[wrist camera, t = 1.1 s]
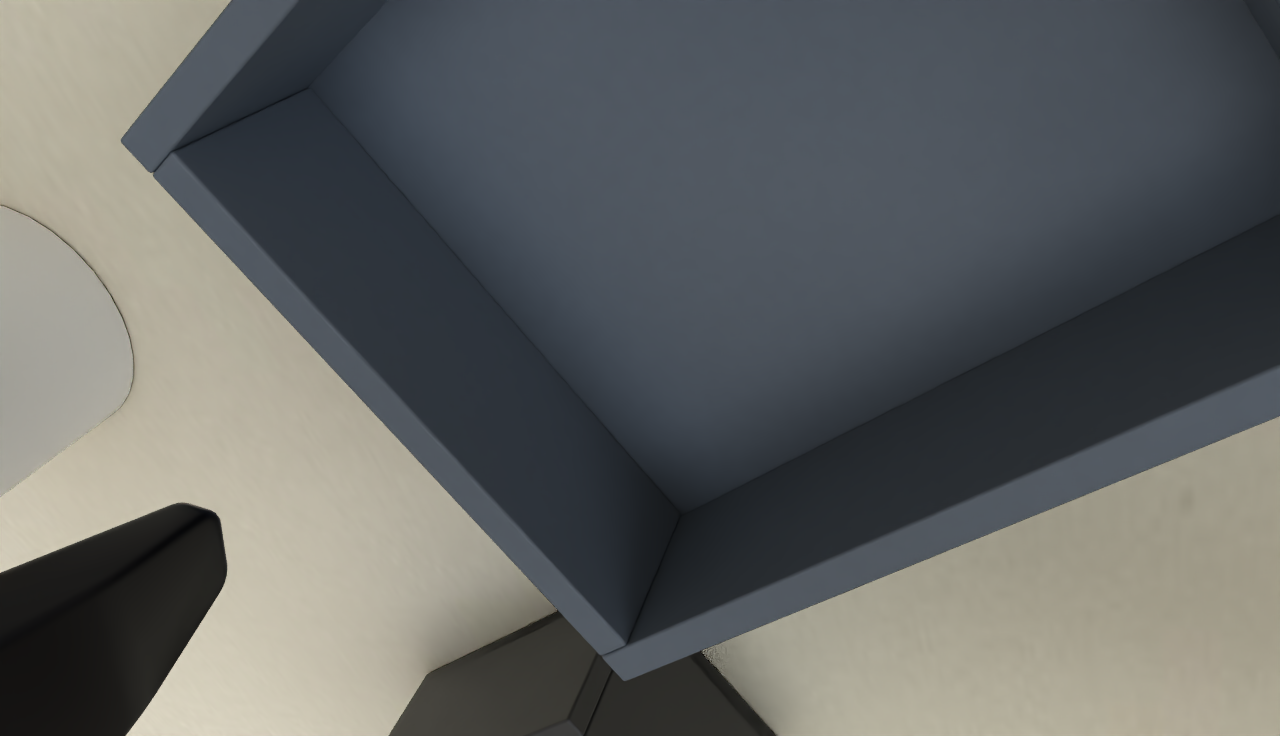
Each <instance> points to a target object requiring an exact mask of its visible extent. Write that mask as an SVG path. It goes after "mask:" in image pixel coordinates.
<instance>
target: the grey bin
mask: <svg viewBox="0 0 1280 736" xmlns="http://www.w3.org/2000/svg"><path fill="white" fill-rule="evenodd" d="M121 142H122V144H123V145H124V146H125V147H126V148H127V149H128V150H129V151H130V152H131V153H132V155H133V156H134V157H135V158H136V159H137V160H138V161H139V162H140V163H141V164H142V165H143V166H144V167H145V168H146V170H147V171H148V172H150V173H153V172H154V174H153V177H154V178H155V179H156V180H157V181H158V182H159V183H160V185H161V186H162V187H163V188H164V189H165V190H166V191H167V192H168V193H169V194H170V195H171V196H172V197H173V198H174V200H175V201H176V202H177V203H178V204H179V205H180V206H181V207H182V208H183V209H184V210H185V211H186V212H187V213H188V215H189V216H190V217H191V218H192V219H193V220H194V221H195V222H196V223H197V224H198V225H199V226H200V227H201V228H202V230H203V231H204V232H205V233H206V234H207V235H208V236H209V237H210V238H211V239H212V240H213V241H214V242H215V243H216V245H217V246H218V247H219V248H220V249H221V250H222V251H223V252H224V253H225V254H226V255H227V256H228V257H229V258H230V260H231V261H232V262H233V263H234V264H235V265H236V266H237V267H238V268H239V269H240V270H241V271H242V272H243V273H244V275H245V276H246V277H247V278H248V279H249V280H250V281H251V282H252V283H253V284H254V285H255V286H256V287H257V288H258V290H259V291H260V292H261V293H262V294H263V295H264V296H265V297H266V298H267V299H268V300H269V301H270V302H271V303H272V305H273V306H274V307H275V308H276V309H277V310H278V311H279V312H280V313H281V314H282V315H283V316H284V317H285V318H286V320H287V321H288V322H289V323H290V324H291V325H292V326H293V327H294V328H295V329H296V330H297V331H298V332H299V333H300V335H301V336H302V337H303V338H304V339H305V340H306V341H307V342H308V343H309V344H310V345H311V346H312V347H313V348H314V349H315V351H316V352H317V353H318V354H319V355H320V356H321V357H322V358H323V359H324V360H325V361H326V362H327V363H328V364H329V366H330V367H331V368H332V369H333V370H334V371H335V372H336V373H337V374H338V375H339V376H340V377H341V378H342V379H343V381H344V382H345V383H346V384H347V385H348V386H349V387H350V388H351V389H352V390H353V391H354V392H355V393H356V394H357V396H358V397H359V398H360V399H361V400H362V401H363V402H364V403H365V404H366V405H367V406H368V407H369V408H370V409H371V411H372V412H373V413H374V414H375V415H376V416H377V417H378V418H379V419H380V420H381V421H382V422H383V423H384V424H385V426H386V427H387V428H388V429H389V430H390V431H391V432H392V433H393V434H394V435H395V436H396V437H397V438H398V439H399V441H400V442H401V443H402V444H403V445H404V446H405V447H406V448H407V449H408V450H409V451H410V452H411V453H412V454H413V456H414V457H415V458H416V459H417V460H418V461H419V462H420V463H421V464H422V465H423V466H424V467H425V468H426V469H427V471H428V472H429V473H430V474H431V475H432V476H433V477H434V478H435V479H436V480H437V481H438V482H439V483H440V484H441V486H442V487H443V488H444V489H445V490H446V491H447V492H448V493H449V494H450V495H451V496H452V497H453V498H454V499H455V501H456V502H457V503H458V504H459V505H460V506H461V507H462V508H463V509H464V510H465V511H466V512H467V513H468V514H469V516H470V517H471V518H472V519H473V520H474V521H475V522H476V523H477V524H478V525H479V526H480V527H481V528H482V529H483V531H484V532H485V533H486V534H487V535H488V536H489V537H490V538H491V539H492V540H493V541H494V542H495V543H496V544H497V546H498V547H499V548H500V549H501V550H502V551H503V552H504V553H505V554H506V555H507V556H508V557H509V558H510V559H511V561H512V562H513V563H514V564H515V565H516V566H517V567H518V568H519V569H520V570H521V571H522V572H523V573H524V574H525V575H526V577H527V578H528V579H529V580H530V581H531V582H532V583H533V584H534V585H535V586H536V587H537V588H538V589H539V590H540V592H541V593H542V594H543V595H544V596H545V597H546V598H547V599H548V600H549V601H550V602H551V603H552V604H553V605H554V607H555V608H556V609H557V610H558V611H559V612H560V613H561V614H562V615H563V616H564V617H565V618H566V619H567V620H568V622H569V623H570V624H571V625H572V626H573V627H574V628H575V629H576V630H577V631H578V632H579V633H580V634H581V635H582V637H583V638H584V639H585V640H586V641H587V642H588V643H589V644H590V645H591V646H592V647H593V648H594V649H595V650H596V652H597V653H598V654H599V655H603V656H602V657H603V659H604V660H605V661H606V662H607V664H608V665H609V666H610V667H611V668H612V669H613V670H614V671H615V672H616V673H617V674H618V675H619V676H620V677H621V679H622V680H624V681H627V680H630V679H632V678H635V677H637V676H640V675H642V674H645V673H647V672H650V671H652V670H655V669H657V668H660V667H662V666H664V665H667V664H669V663H672V662H674V661H677V660H679V659H682V658H684V657H687V656H689V655H692V654H694V653H697V652H699V651H701V650H704V649H706V648H709V647H711V646H714V645H716V644H719V643H721V642H724V641H726V640H729V639H731V638H734V637H736V636H739V635H741V634H743V633H746V632H748V631H751V630H753V629H756V628H758V627H761V626H763V625H766V624H768V623H771V622H773V621H776V620H778V619H780V618H783V617H785V616H788V615H790V614H793V613H795V612H798V611H800V610H803V609H805V608H808V607H810V606H813V605H815V604H817V603H820V602H822V601H825V600H827V599H830V598H832V597H835V596H837V595H840V594H842V593H845V592H847V591H850V590H852V589H854V588H857V587H859V586H862V585H864V584H867V583H869V582H872V581H874V580H877V579H879V578H882V577H884V576H887V575H889V574H891V573H894V572H896V571H899V570H901V569H904V568H906V567H909V566H911V565H914V564H916V563H919V562H921V561H924V560H926V559H928V558H931V557H933V556H936V555H938V554H941V553H943V552H946V551H948V550H951V549H953V548H956V547H958V546H961V545H963V544H966V543H968V542H970V541H973V540H975V539H978V538H980V537H983V536H985V535H988V534H990V533H993V532H995V531H998V530H1000V529H1003V528H1005V527H1007V526H1010V525H1012V524H1015V523H1017V522H1020V521H1022V520H1025V519H1027V518H1030V517H1032V516H1035V515H1037V514H1040V513H1042V512H1044V511H1047V510H1049V509H1052V508H1054V507H1057V506H1059V505H1062V504H1064V503H1067V502H1069V501H1072V500H1074V499H1077V498H1079V497H1081V496H1084V495H1086V494H1089V493H1091V492H1094V491H1096V490H1099V489H1101V488H1104V487H1106V486H1109V485H1111V484H1114V483H1116V482H1118V481H1121V480H1123V479H1126V478H1128V477H1131V476H1133V475H1136V474H1138V473H1141V472H1143V471H1146V470H1148V469H1151V468H1153V467H1156V466H1158V465H1160V464H1163V463H1165V462H1168V461H1170V460H1173V459H1175V458H1178V457H1180V456H1183V455H1185V454H1188V453H1190V452H1193V451H1195V450H1197V449H1200V448H1202V447H1205V446H1207V445H1210V444H1212V443H1215V442H1217V441H1220V440H1222V439H1225V438H1227V437H1230V436H1232V435H1234V434H1237V433H1239V432H1242V431H1244V430H1247V429H1249V428H1252V427H1254V426H1257V425H1259V424H1262V423H1264V422H1267V421H1269V420H1271V419H1274V418H1276V417H1279V416H1280V0H231V2H230V3H229V4H228V5H227V7H226V8H225V9H224V10H223V12H222V13H221V14H220V15H219V17H218V18H217V19H216V20H215V22H214V23H213V24H212V25H211V27H210V28H209V29H208V30H207V32H206V33H205V34H204V35H203V37H202V38H201V39H200V40H199V42H198V43H197V44H196V45H195V47H194V48H193V49H192V50H191V52H190V53H189V54H188V55H187V57H186V58H185V59H184V60H183V62H182V63H181V64H180V66H179V67H178V68H177V69H176V71H175V72H174V73H173V74H172V76H171V77H170V78H169V79H168V81H167V82H166V83H165V84H164V86H163V87H162V88H161V89H160V91H159V92H158V93H157V94H156V96H155V97H154V98H153V99H152V101H151V102H150V103H149V104H148V106H147V107H146V108H145V109H144V111H143V112H142V113H141V114H140V116H139V117H138V118H137V119H136V121H135V122H134V123H133V124H132V126H131V127H130V128H129V129H128V131H127V132H126V133H125V134H124V136H123V137H122V138H121Z"/></svg>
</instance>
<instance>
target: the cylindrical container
mask: <svg viewBox="0 0 1280 736" xmlns="http://www.w3.org/2000/svg"><path fill="white" fill-rule="evenodd" d="M132 380H133V354H132V349H131V344H130V339H129V336H128V333H127V330H126V327H125V325H124V322H123V319H122V317H121V315H120V313H119V311H118V309H117V307H116V305H115V303H114V302H113V300H112V298H111V296H110V294H109V293H108V291H107V290H106V288H105V287H104V286H103V284H102V283H101V281H100V280H99V279H98V277H97V276H96V274H95V273H94V272H93V270H92V269H91V268H90V267H89V266H88V265H87V264H86V263H85V262H84V261H83V260H82V258H81V257H80V256H79V255H78V254H77V253H76V252H75V251H74V250H73V249H72V248H71V247H70V246H68V245H67V244H66V243H65V242H64V241H62V240H61V239H60V238H59V237H58V236H56V235H55V234H54V233H53V232H52V231H50V230H49V229H47V228H45V227H44V226H42V225H41V224H39V223H37V222H36V221H34V220H33V219H31V218H29V217H28V216H26V215H23V214H21V213H19V212H16V211H14V210H12V209H9V208H7V207H4V206H0V497H1V496H3V495H4V494H5V493H7V492H8V491H9V490H11V489H12V488H13V487H15V486H16V485H17V484H19V483H20V482H22V481H23V480H24V479H26V478H27V477H28V476H30V475H31V474H32V473H34V472H35V471H36V470H38V469H39V468H40V467H42V466H43V465H45V464H46V463H47V462H49V461H50V460H51V459H53V458H54V457H55V456H57V455H58V454H59V453H61V452H62V451H63V450H65V449H66V448H67V447H69V446H70V445H72V444H73V443H74V442H76V441H77V440H78V439H80V438H81V437H82V436H84V435H85V434H86V433H88V432H89V431H90V430H92V429H93V428H95V427H96V426H97V425H99V424H100V423H101V422H103V421H104V420H105V419H107V418H108V417H109V416H111V415H112V414H113V413H114V412H115V411H117V410H118V409H119V408H120V407H121V406H122V404H123V403H124V401H125V399H126V398H127V396H128V394H129V392H130V388H131V384H132Z"/></svg>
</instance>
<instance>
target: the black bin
mask: <svg viewBox="0 0 1280 736" xmlns="http://www.w3.org/2000/svg"><path fill="white" fill-rule="evenodd" d="M602 656H603V655H599V654H598V653H597V652H596V650H595V649H594V648H593V647H592V646H591V645H590V644H589V643H588V642H587V641H586V640H585V639H584V638H583V637H582V635H581V634H580V633H579V632H578V631H577V630H576V629H575V628H574V627H573V626H572V625H571V624H570V623H569V622H568V620H567V619H566V618H565V617H564V616H563V615H562V614H561V613H560V612H556V613H554V614H552V615H550V616H548V617H546V618H544V619H542V620H540V621H538V622H536V623H533V624H531V625H529V626H527V627H525V628H523V629H521V630H519V631H517V632H515V633H513V634H510V635H508V636H506V637H504V638H502V639H500V640H498V641H496V642H494V643H492V644H490V645H488V646H485V647H483V648H481V649H479V650H477V651H475V652H473V653H471V654H469V655H467V656H465V657H462V658H460V659H458V660H456V661H454V662H452V663H450V664H448V665H446V666H444V667H442V668H439V669H437V670H435V671H433V672H431V673H429V674H427V675H426V677H425V678H424V680H423V682H422V683H421V685H420V686H419V688H418V690H417V691H416V693H415V694H414V696H413V698H412V699H411V701H410V702H409V704H408V706H407V707H406V709H405V710H404V712H403V714H402V715H401V717H400V718H399V720H398V722H397V723H396V725H395V726H394V728H393V730H392V731H391V733H390V734H389V736H775V735H774V733H773V732H772V731H771V730H770V729H769V728H768V727H767V726H766V725H765V723H764V722H763V721H762V720H761V719H760V718H759V717H758V716H757V715H756V713H755V712H754V711H753V710H752V709H751V708H750V707H749V706H748V705H747V703H746V702H745V701H744V700H743V699H742V698H741V697H740V696H739V695H738V693H737V692H736V691H735V690H734V689H733V688H732V687H731V686H730V685H729V683H728V682H727V681H726V680H725V679H724V678H723V677H722V676H721V675H720V673H719V672H718V671H717V670H716V669H715V668H714V667H713V666H712V665H711V663H710V662H709V661H708V660H707V659H706V658H705V657H704V656H703V655H702V653H701V652H700V651H699V652H697V653H694V654H692V655H689V656H687V657H684V658H682V659H679V660H677V661H674V662H672V663H669V664H667V665H664V666H662V667H660V668H657V669H655V670H652V671H650V672H647V673H645V674H642V675H640V676H637V677H635V678H632V679H630V680H627V681H624V680H622V679H621V677H620V676H619V675H618V674H617V673H616V672H615V671H614V670H613V669H612V668H611V667H610V666H609V665H608V664H607V662H606V661H605V660H604V659H603V657H602Z"/></svg>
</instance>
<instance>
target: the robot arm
mask: <svg viewBox="0 0 1280 736" xmlns="http://www.w3.org/2000/svg"><path fill="white" fill-rule="evenodd" d="M226 576H227V560H226V554H225V547H224V540H223V534H222V527H221V522H220V519H219V517H218V516H217V514H216V513H215V512H213V511H211V510H208V509H205V508H202V507H198V506H195V505H192V504H189V503H176V504H173V505H170V506H167V507H165V508H162V509H160V510H157V511H155V512H152V513H150V514H147V515H145V516H142V517H140V518H137V519H135V520H132V521H130V522H127V523H125V524H122V525H119V526H117V527H114V528H112V529H109V530H107V531H104V532H102V533H99V534H97V535H94V536H92V537H89V538H87V539H84V540H82V541H79V542H77V543H74V544H72V545H69V546H67V547H64V548H62V549H59V550H57V551H54V552H52V553H49V554H47V555H44V556H42V557H39V558H37V559H34V560H32V561H29V562H27V563H24V564H22V565H19V566H16V567H14V568H11V569H9V570H6V571H4V572H1V573H0V736H126V734H127V733H128V732H129V730H130V729H131V728H132V726H133V725H134V724H135V722H136V721H137V720H138V718H139V717H140V716H141V714H142V713H143V712H144V710H145V709H146V707H147V706H148V704H149V703H150V701H151V700H152V698H153V697H154V695H155V694H156V693H157V691H158V689H159V688H160V686H161V685H162V683H163V682H164V680H165V678H166V677H167V675H168V674H169V672H170V670H171V669H172V667H173V666H174V664H175V663H176V661H177V659H178V658H179V656H180V655H181V653H182V651H183V650H184V648H185V647H186V645H187V644H188V642H189V640H190V639H191V637H192V636H193V634H194V633H195V631H196V629H197V628H198V626H199V625H200V623H201V621H202V620H203V618H204V617H205V615H206V614H207V612H208V610H209V609H210V607H211V606H212V604H213V602H214V601H215V599H216V598H217V596H218V595H219V593H220V591H221V589H222V587H223V585H224V583H225V579H226Z"/></svg>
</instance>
